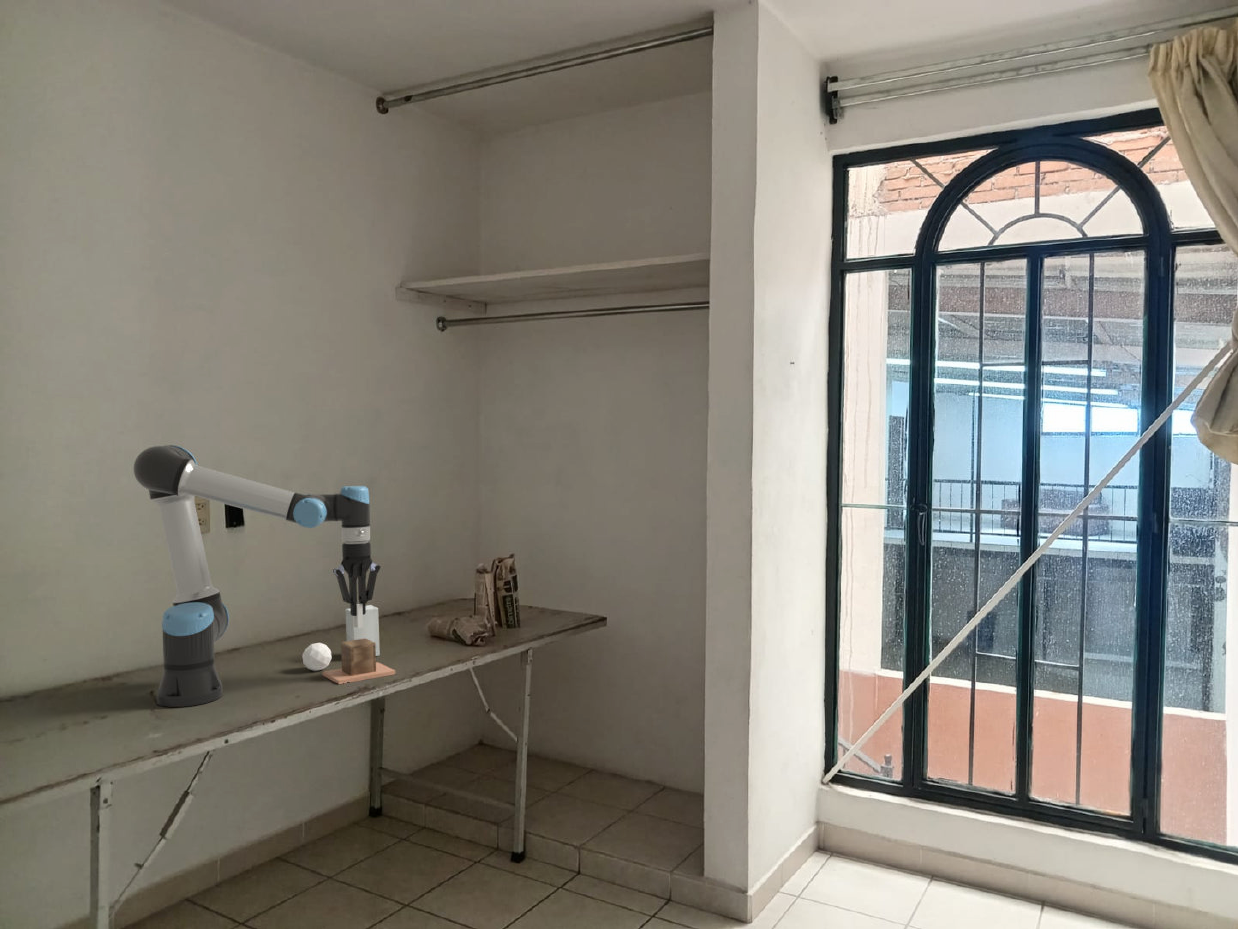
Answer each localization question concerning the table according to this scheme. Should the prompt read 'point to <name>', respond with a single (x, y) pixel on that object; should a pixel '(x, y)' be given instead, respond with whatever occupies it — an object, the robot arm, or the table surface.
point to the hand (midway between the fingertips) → (358, 626)
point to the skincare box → (364, 627)
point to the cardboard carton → (358, 656)
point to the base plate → (343, 677)
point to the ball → (316, 656)
